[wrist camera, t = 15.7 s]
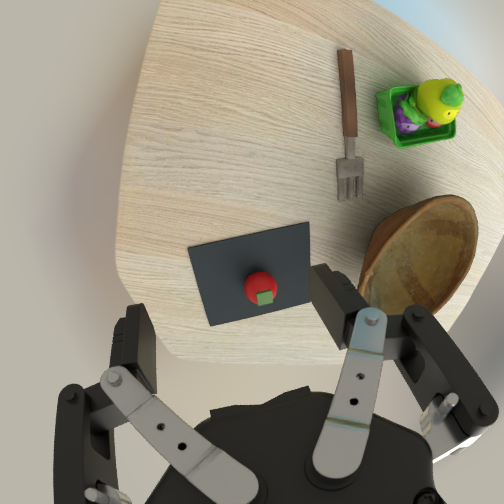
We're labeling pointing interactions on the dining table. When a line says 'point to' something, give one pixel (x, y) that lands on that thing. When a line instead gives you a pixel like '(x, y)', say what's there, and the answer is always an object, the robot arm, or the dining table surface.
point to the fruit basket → (420, 112)
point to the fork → (349, 130)
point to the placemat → (252, 271)
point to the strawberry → (260, 288)
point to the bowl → (420, 255)
